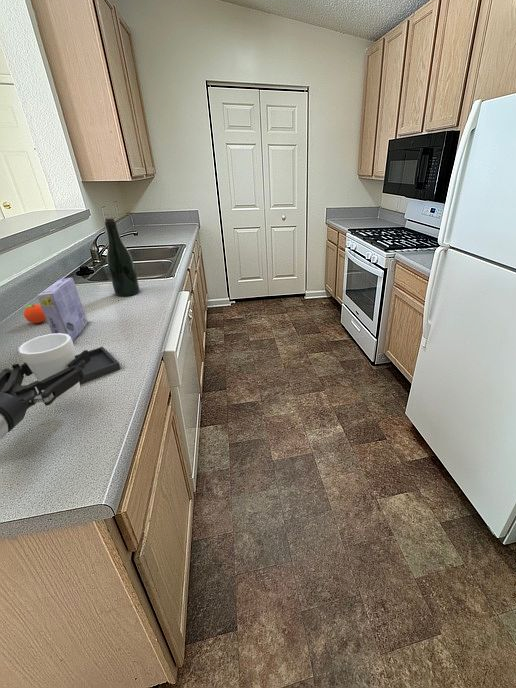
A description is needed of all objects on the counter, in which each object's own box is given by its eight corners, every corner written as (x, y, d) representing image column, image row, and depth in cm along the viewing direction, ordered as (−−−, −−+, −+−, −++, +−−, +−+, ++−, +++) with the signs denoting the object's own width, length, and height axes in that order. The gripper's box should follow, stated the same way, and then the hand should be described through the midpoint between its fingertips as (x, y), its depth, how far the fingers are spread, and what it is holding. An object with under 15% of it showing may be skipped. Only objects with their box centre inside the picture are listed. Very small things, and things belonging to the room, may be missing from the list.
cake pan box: (75, 322, 124) (59, 277, 116) (90, 321, 125) (75, 275, 117) (55, 346, 107) (35, 295, 99) (72, 344, 108) (54, 294, 101)
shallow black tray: (53, 369, 95) (51, 363, 94) (104, 352, 104) (102, 346, 103) (66, 389, 87) (63, 382, 86) (120, 368, 95) (118, 362, 95)
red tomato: (21, 328, 120) (14, 310, 117) (27, 320, 126) (20, 303, 123) (47, 324, 123) (40, 306, 120) (52, 317, 128) (46, 300, 125)
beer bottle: (144, 292, 153) (127, 217, 138) (121, 298, 146) (101, 220, 131) (134, 287, 159) (116, 215, 144) (111, 293, 152) (90, 218, 137)
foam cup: (93, 377, 83) (77, 331, 77) (78, 401, 75) (59, 351, 69) (51, 381, 81) (32, 335, 76) (31, 406, 73) (8, 355, 68)
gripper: (-64, 437, 60) (25, 369, 80) (57, 435, 61) (116, 368, 81) (-86, 404, 57) (13, 341, 77) (43, 403, 57) (108, 341, 77)
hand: (66, 355), depth 79 cm, fingers closed on foam cup, 9 cm apart
